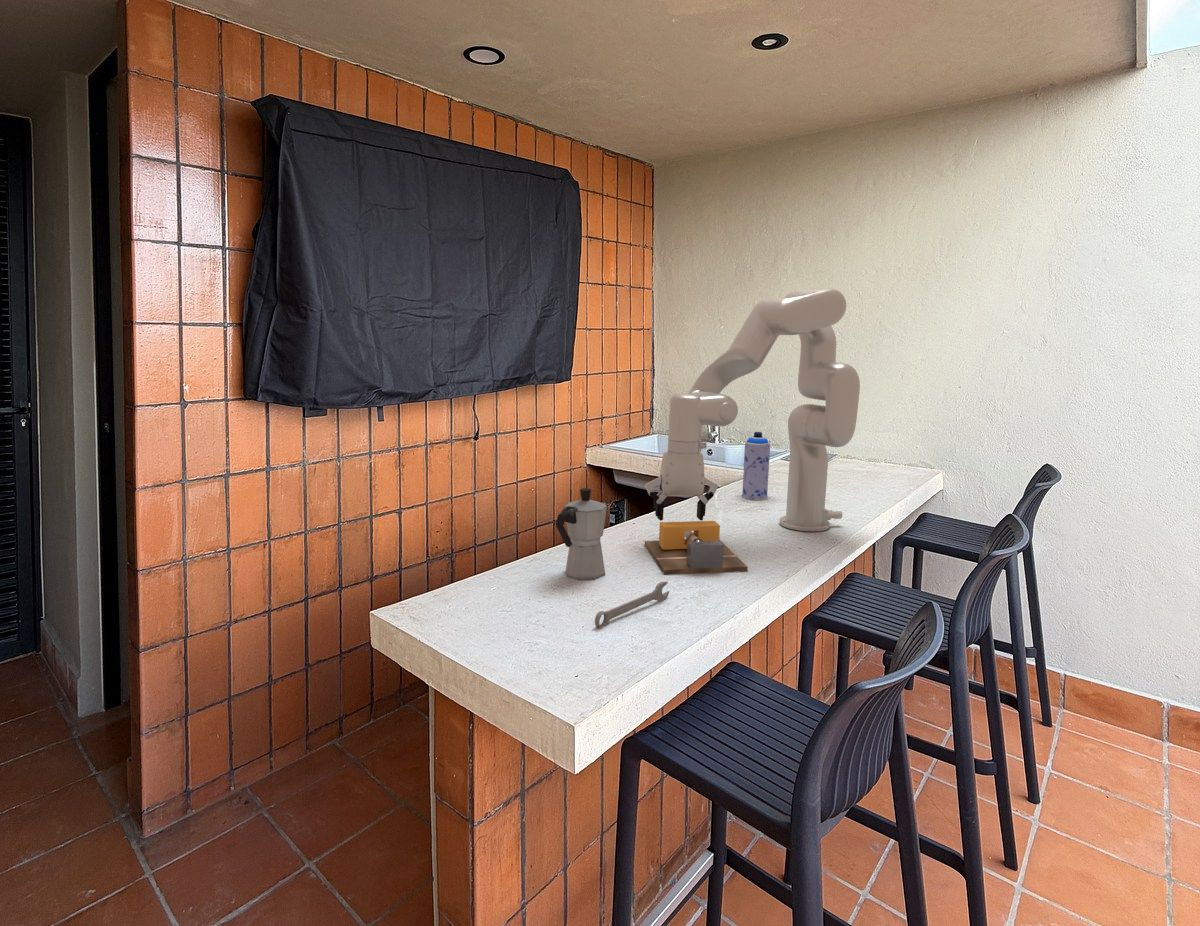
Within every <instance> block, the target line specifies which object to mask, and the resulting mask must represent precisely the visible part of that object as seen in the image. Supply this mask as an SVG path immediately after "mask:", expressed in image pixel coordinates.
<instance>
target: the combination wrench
mask: <svg viewBox="0 0 1200 926" xmlns="http://www.w3.org/2000/svg"><path fill="white" fill-rule="evenodd" d="M668 583H669V582H668V581H661V582H659V583H657V584H656V586H655V588H654V590H652V591H651V592H649V593H646V594H644V595H642V596H640V597H638V598H635V599H632V600H630V601H628V602H626V603H623V604H620V605H618V606H616V607H614V608H611V609H609V610H606V611H604V610H601V611H598V612H597V613H596V616H595V617H594V626H595V627H597V628H600V629H602V628H603V627H606V626H607V625H608V623H609V622H610V620H612V619H614V618H617V617H619V616H621V615H623V614H626V613H628V612H630V611H632V610H634V609H637V608H638V607H641V606H643V605H645V604H647V603H650V602H652V601H657V602H663V601H665V600H667V598H668V596H669V594H670V591H669V590H668V591H665V592H663V589H664V587H666V586H667V585H668ZM602 617H603V620H602V622H601V624H600V620H601V618H602Z"/></svg>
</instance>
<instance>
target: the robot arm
mask: <svg viewBox="0 0 1200 926" xmlns="http://www.w3.org/2000/svg"><path fill="white" fill-rule="evenodd" d="M846 310H847V300H846V297H845V295H844V294H843V293H842V292H841V291H840V290H838V289H835V288H829V287H828V288H825V287H824V288H812V289H811V288H809V289H808V288H807V289H806V288H805V289H798V290H797V289H796V290H794V291H791V292H789V293H787V294H786V295H785V297H778V298H765V299H762V300H761V301H758V302H757V303H756V304H755V306H753V308H752V310H751V311H750V313H749V315H748V317H746V319H745V322H744V323H743V325H742V326H741V328H740V329H739V331H738V333H737V334H736V337H735V338H734V340H733V342H732V343H731V344H730V346H729V348H728V349H727V350H726V351H725V352H723V353H722V354H721V355H720V356H718V357H717V358H716V359H715V360H714V361H713V362H711V364H709V365H708V366H707V367H706V368H705V369H704V370H703V371H702V372H701V373H700V374H699V375H698V377H697V379H696V380H695V382H694V383H693V384H692V386H691V389H690V391H689V393H676V394H673V395H672V396H671V397H670V399H669V415H668V416H669V417H668V438H667V450H666V451H664V452H663V453H662V455H663V456H662V459H661V465H660V468H659V469H660V471H659V476H658V477H657V478H654V479H652V480H650V481H649V482H646V483H645V485H644V487H645V489H646V491H647V494H648V496H650V498H652V499H653V501H655V512H654V513H655V517H656V518H657V519H658V520H659V521H660V522H661V521H662V522H663V520H664V510H665V509H664V507H665V506H664V505H665V504H664V503H663V502H664V500H665V499H666V498H667V497H697V498H698V501H697V502H696V503H697V504H696V518H697V519H698V521H704V517H705V516H706V511H707V510H706V507H707V504H708V503H709V501H710V500H711V499H712V498H713V497H714V495H715V493H717V492H716V491H717V490H718V488H719V484H717V483H716V482H713V481H711V480H710V479H708V478H706V477H705V464H704V456H703V453H702V450H703V449H705V450H706V449H707V442H702V441H703V440H701V439H702V426H711V427H717V428H718V427H720V428H721V427H722V428H723V427H726V426H729V425H731V424H732V423H733V422H735V420H736V418H737V416H738V413H739V409H738V408H739V407H738V405H737V403H736V401H735V399H733V398H732V397H731V396H729V395H726V394H721V392H722V391H723V390H724V389H725V388H726V387H727V386H728V385H729V384H730V383H732V382H733V381H735V380H737V379H739V378H741V377H744V376H746V375H749V374H751V373H754V371H757V370H758V369H759V368H761V366H762V364H763V363H764V361H765V359H766V358H767V355H768V354H769V353H770V351H771V349H772V347H773V346H774V344H775V342H776V341H777V340H778V338H779V336H797V335H798V336H799V340H800V355H799V363H798V364H799V366H798V375H797V388H798V392H799V393H800V394H801V396H803V397H805V398H807V399H811V400H819V401H824V402H825V405H820V404H814V403H806V404H805V403H804V404H800V405H798V406H796V407H795V408H794V409H793V410H792V411H791V412H790V414H789V417H788V419H787V430H788V431H787V433H788V440H789V464H788V465H789V466H788V478H787V479H788V480H787V493H786V494H787V495H786V507H785V508H786V509H785V515H784V516H781V517H780V518H779V524H780V526H782V527H784V528H787V529H789V530H794V531H800V532H822V531H827V530H829V528H830V527H831V524H830V521H831V519H834V520H839V519H842V518H843V512H842V511H838V510H836V511H833V510H832V509H828V508H826V495H827V494H826V493H827V483H828V482H827V480H828V469H829V454H828V451H827V448H826V447H832V448H842V447H844V446H846V445H848V444H849V443H850V441H851V440H852V439H853V436H854V434H855V431H856V426H857V419H858V411H859V401H860V393H861V392H860V391H861V382H860V381H861V379H860V377H859V374H858V372H857V370H856V369H855V367H853V366H852V365H850V364H848V363H844V362H837V361H836V359H837V338H836V337H837V336H836V333H835V330H834V328H833V325H834V326H835V325H836V324H837V323H838V322H840V321H841V319H843V317H844V315H846V314H845V313H846ZM705 485H706V486H708V487H709V489H708V491H707V492H705ZM656 486H658V490H659V492H658V493H657V494H656V493H655V490H654V488H655V487H656ZM704 492H705V494H704Z"/></svg>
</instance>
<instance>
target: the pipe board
mask: <svg viewBox="0 0 1200 926" xmlns="http://www.w3.org/2000/svg"><path fill="white" fill-rule="evenodd" d="M719 541H720V542H721V543H722V544H723V545H724V547H723V568H700V569H690V568H689V567H688V566H687V564H686V560H687V549H665V550H663V549H662V548H661V546H660V545H659V540H644V546H645V548H646V549H647V551H648V552H649V554H650V556H651V557H652V558H653V560H654V562H655V563H656V565H658V568H659V569H660V570H661V572H662V573H663V575H684V574H685V575H687V574H708V573H709V574H710V573H711V574H713V573H733V572H734V571H740V572H748V568H749V567H748V566H747V565H746V564H745V562H743V561H742V559H740V558H739V556H737V555H736V554H735V553H734V552H733V551H732V550H731V549H730V548H729V547H728V546H727V545H726V544H725V543H724V542H723V541H722V540H721V539H720V538H719Z"/></svg>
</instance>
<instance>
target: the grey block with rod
mask: <svg viewBox="0 0 1200 926" xmlns="http://www.w3.org/2000/svg"><path fill="white" fill-rule="evenodd" d="M685 539H687V540H688V541H689V542H687V560H686V564H687V566H688V567H689V568H690V569H700V568H723V547H724V545H723V544H722V543H721V542H720V541H702V540H701V539H699V538H698V537H697V536H696V535H695V534H694V531H685Z"/></svg>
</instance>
